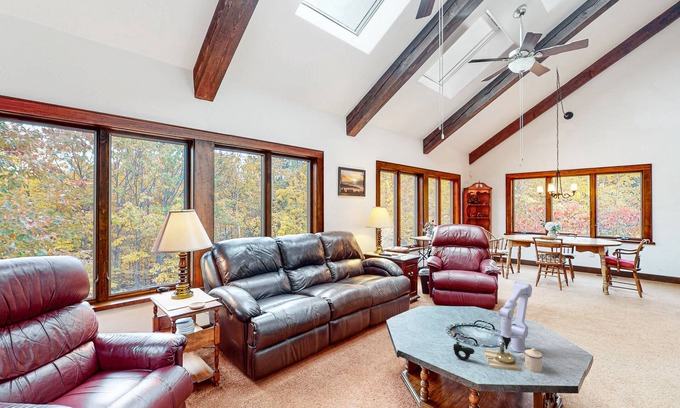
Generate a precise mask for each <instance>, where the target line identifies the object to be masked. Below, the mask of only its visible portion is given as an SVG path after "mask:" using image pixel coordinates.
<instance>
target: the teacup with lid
mask: <svg viewBox="0 0 680 408" xmlns="http://www.w3.org/2000/svg"><path fill="white" fill-rule="evenodd" d="M521 356H524V360H523V359H522V358H521ZM543 356H544V355H543V353H542V352H540V351H538V350H536V348H534V347H532V348H531V349H525V352H524V353H522V352H519V354H518V358H519V360H520V362H522V363H524V367H525V369H527V370H529V372H533V373H541V372H542V371H543Z"/></svg>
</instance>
